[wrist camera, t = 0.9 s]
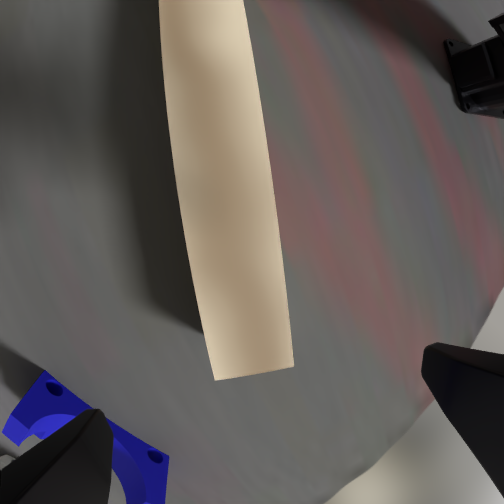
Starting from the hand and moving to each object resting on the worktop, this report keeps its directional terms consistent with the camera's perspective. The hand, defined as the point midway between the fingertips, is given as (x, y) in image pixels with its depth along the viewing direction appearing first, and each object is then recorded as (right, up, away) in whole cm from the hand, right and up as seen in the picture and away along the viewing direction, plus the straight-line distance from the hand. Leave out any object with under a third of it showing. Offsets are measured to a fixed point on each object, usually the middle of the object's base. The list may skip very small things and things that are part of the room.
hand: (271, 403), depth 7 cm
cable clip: (-13, -10, +13) cm, 21 cm away
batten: (-3, +11, +10) cm, 15 cm away
